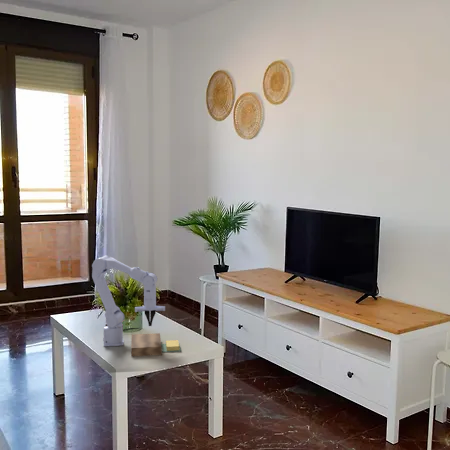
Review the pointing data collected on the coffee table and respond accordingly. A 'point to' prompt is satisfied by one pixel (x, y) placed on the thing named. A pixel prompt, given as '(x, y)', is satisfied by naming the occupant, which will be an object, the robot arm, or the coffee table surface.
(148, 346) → the deck
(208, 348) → the coffee table surface
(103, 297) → the robot arm
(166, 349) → the mat
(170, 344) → the yellow rectangular block
